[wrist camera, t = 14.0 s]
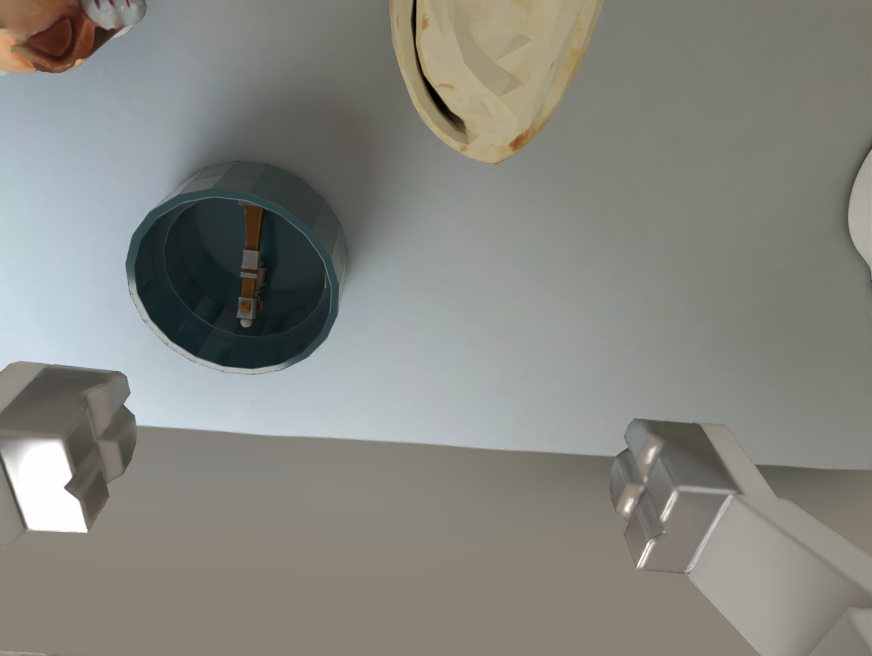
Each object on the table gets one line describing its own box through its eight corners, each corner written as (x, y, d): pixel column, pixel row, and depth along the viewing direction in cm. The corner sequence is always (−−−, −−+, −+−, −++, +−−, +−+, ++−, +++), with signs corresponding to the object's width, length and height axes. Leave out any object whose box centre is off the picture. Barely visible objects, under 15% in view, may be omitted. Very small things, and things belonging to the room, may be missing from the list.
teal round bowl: (353, 172, 37) (344, 204, 32) (342, 333, 43) (333, 382, 38) (154, 147, 36) (111, 176, 30) (172, 317, 42) (140, 365, 37)
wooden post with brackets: (244, 319, 40) (227, 327, 36) (252, 203, 39) (236, 197, 35) (270, 321, 41) (257, 330, 36) (279, 206, 40) (266, 200, 35)
